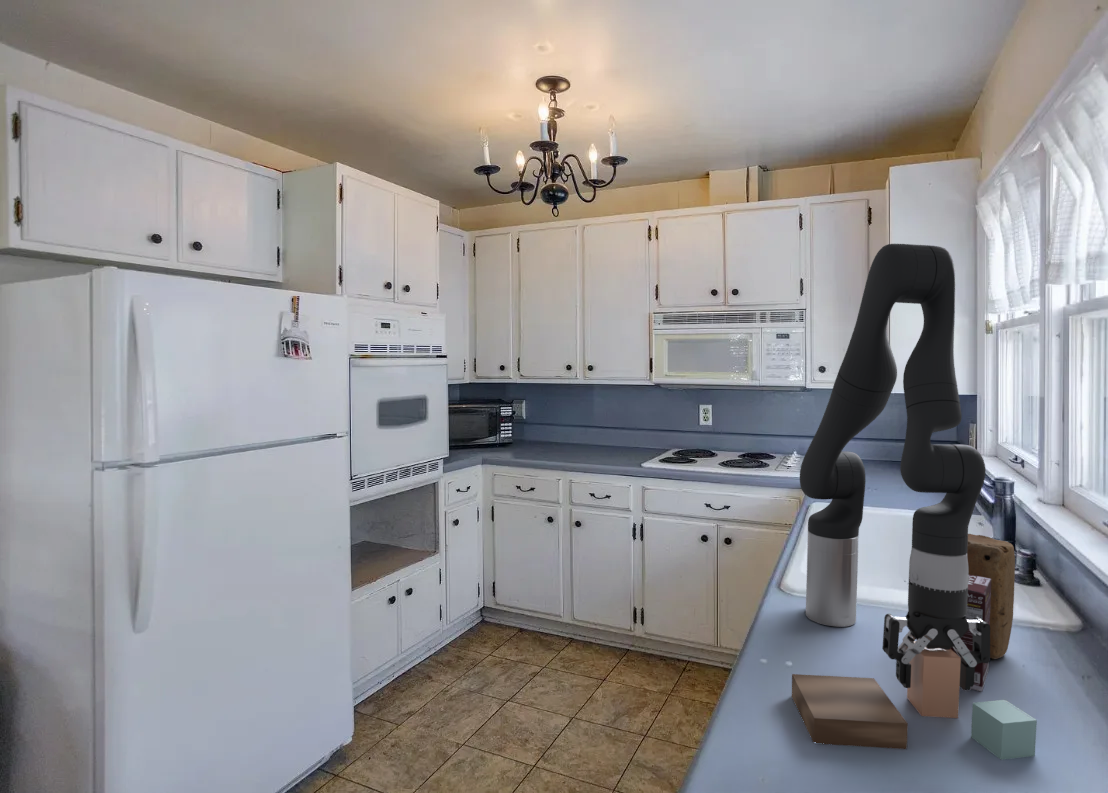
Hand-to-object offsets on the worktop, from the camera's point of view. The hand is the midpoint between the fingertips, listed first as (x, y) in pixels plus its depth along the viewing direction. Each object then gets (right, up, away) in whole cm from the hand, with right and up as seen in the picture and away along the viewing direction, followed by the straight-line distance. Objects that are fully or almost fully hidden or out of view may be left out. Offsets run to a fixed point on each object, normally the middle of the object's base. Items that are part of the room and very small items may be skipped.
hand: (934, 686), depth 97 cm
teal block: (+4, -4, -9) cm, 11 cm away
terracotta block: (0, -3, 0) cm, 3 cm away
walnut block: (-15, -4, -3) cm, 15 cm away
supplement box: (+11, -3, +9) cm, 15 cm away
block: (+18, -2, +19) cm, 27 cm away
